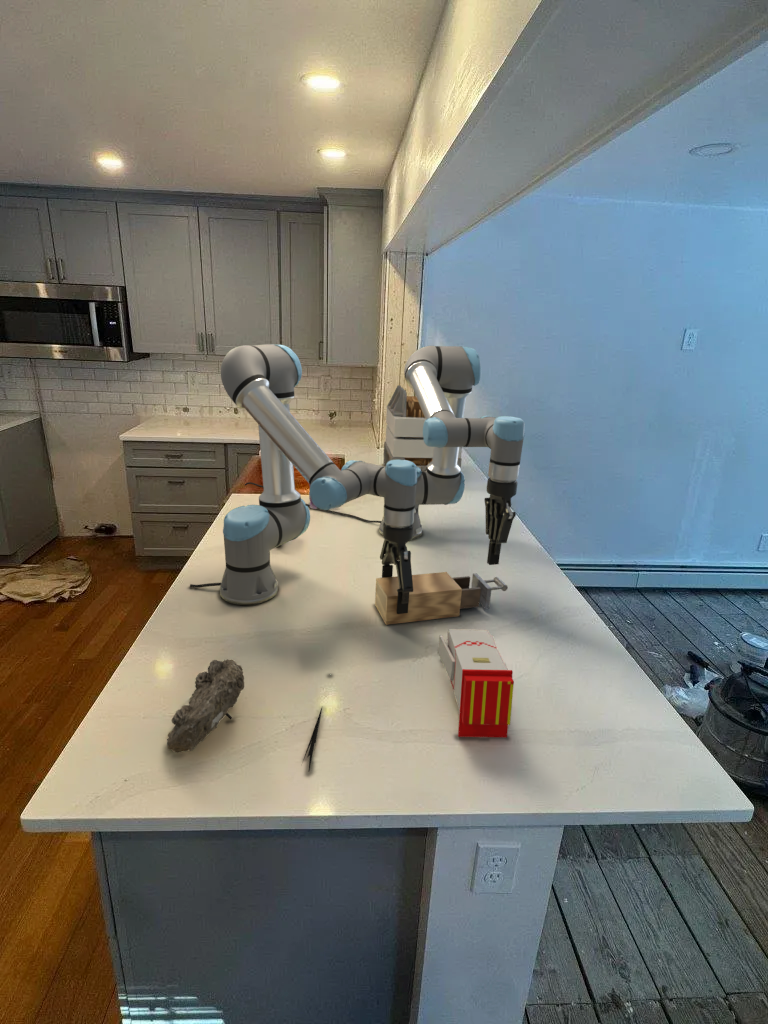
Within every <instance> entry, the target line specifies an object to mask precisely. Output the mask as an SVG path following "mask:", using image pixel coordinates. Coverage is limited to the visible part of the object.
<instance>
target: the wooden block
mask: <svg viewBox="0 0 768 1024" xmlns="http://www.w3.org/2000/svg"><path fill="white" fill-rule="evenodd" d="M453 578H454V577H452V576H451V575H450V574H449V573H448V571H441V572H440V571H439V572H430V573H418V574H412V581H413V592H409V604H408V613H404V614H397V597H398V592H397V589H400V588H399V582H398V576H392V577H386V578H382V577H376V578H375V592H374V593H375V595H374V606H375V608H376V609H377V611H378V613H379V615H380V616H381V618H382V621H383V622H384V624H385V625H386V626H387V625H395V624H396V625H397V624H405V623H413V622H421V621H430V620H431V621H432V620H438V619H447V618H456V617H460V614H461V613H460V611H461V609H460V603H461V593H462V589H461V587H460V586H459V585H458V584H457V583H456V582H455V581H454V580H453Z"/></svg>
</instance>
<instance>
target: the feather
mask: <svg viewBox="0 0 768 1024" xmlns="http://www.w3.org/2000/svg"><path fill="white" fill-rule="evenodd" d="M329 675H330V676H331V675H332V674H331V673H330V674H329ZM322 710H323V707H321V708H320V710H319V713H318V716H317V719H316V723H315V725H314V728H313V731H312V733H311V737H310V739H309V742H308V745H307V748H306V751H305V754H304V757H303V760H302V763H301V767H302V765H303V763H304V761H305V758H308V759H309V760H308V762H307V763H308V764H307V766H308V771H310V770H311V766H312V765H311V764H312V760H313V757H315V756H314V755H315V751H316V749H315V746H317V739H318V733H319V729H320V722H321V717H322V712H323V711H322ZM313 754H314V755H313ZM306 755H307V757H306Z"/></svg>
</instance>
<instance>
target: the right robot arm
mask: <svg viewBox="0 0 768 1024" xmlns="http://www.w3.org/2000/svg"><path fill="white" fill-rule="evenodd" d="M403 372H404V379H405V382H406V384H407V386H408V387H409V388H410V389H411V390H413V393H414V396H415V397H417V400H418V402H419V404H420V407H421V409H422V412H423V414H424V416H425V419H426V420H425V422H424V425H423V439H424V443H425V444H426V445H427V446H429V447H434V449H433V458H432V462H430V463H429V464H428V465H427V466H426V470H423V471H422V469H421V467H420V466H416V467H417V484H416V495H415V510H416V513H414V523H413V526H414V528H413V538H412V540H415V539H418V538H420V537H421V536H422V535H423V525H422V524H421V518H420V515H419V507H420V506H422V505H423V506H427V505H428V506H430V505H431V506H433V505H434V506H435V505H445V506H447V505H453V504H457V503H458V502H459V501H461V500H462V498H463V495H464V493H465V492H464V491H465V489H466V487H465V486H466V484H465V480H466V479H465V474H464V473H463V472H462V467H461V468H460V467H459V466H458V465H457V461H458V453H459V447H462V448H489V449H490V455H489V457H490V458H489V463H488V473H487V476H488V477H489V478H488V479H487V483H486V493H487V494H488V495H489V497H484V506H485V507H484V508H485V510H484V511H485V535H487V537H488V541H489V543H488V551H487V559H486V563H487V565H489V566H494V565H495V566H496V565H499V564H500V557H501V550H502V544H507V542H508V540H509V535H510V533H511V528H512V526H513V522H514V519H515V518H516V516H517V512H516V511H513V510H512V509H511V507H512V498H513V497H514V496H515V497H516V495H517V490H518V484H519V483H518V481H517V480H518V479H519V474H520V473H519V472H520V469H521V466H520V464H521V459H522V453H523V445H524V439H525V434H526V433H525V426H526V425H525V420H524V419H523V418H520V417H516V416H510V415H502V416H501V415H500V416H497V417H496V416H493V415H492V416H491V415H482V416H481V417H465V410H466V409H465V407H466V400H467V397H468V396H469V395H470V394H472V392H473V386H474V387H475V386H477V385H479V384H480V381H481V378H482V364H481V359H480V355H479V353H478V351H477V350H476V349H475V348H474V347H470V346H461V345H460V346H459V345H457V346H455V345H451V346H450V345H427V346H426V345H425V346H423V347H420V348H418V349H416V350H415V351H414V352H413V353H412V354H411V355H410V356H409V357H408V359H407V360H406V363H405V365H404V370H403ZM247 485H253V486H256V487H259V488H262V489H264V488H263V485H260V484H258V483H255V482H251V481H248V482H246V483H245V484H244V486H247ZM305 505H306V506H308V508H310V505H309V504H308V503H306V504H305ZM316 510H320V511H324V512H327V513H333V514H336V515H341V516H346V517H350V518H354V519H357V520H359V521H362V522H366V523H376V524H379V525H378V533H379V534H380V535H381V536H383V524H384V523H385V522H384V521H383V518H382V519H381V520H369V519H365V518H362V517H359V516H356V515H353V514H350V513H345V512H340V511H335V510H332V509H330V510H322V509H319V508H318V507H317V509H316Z"/></svg>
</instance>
